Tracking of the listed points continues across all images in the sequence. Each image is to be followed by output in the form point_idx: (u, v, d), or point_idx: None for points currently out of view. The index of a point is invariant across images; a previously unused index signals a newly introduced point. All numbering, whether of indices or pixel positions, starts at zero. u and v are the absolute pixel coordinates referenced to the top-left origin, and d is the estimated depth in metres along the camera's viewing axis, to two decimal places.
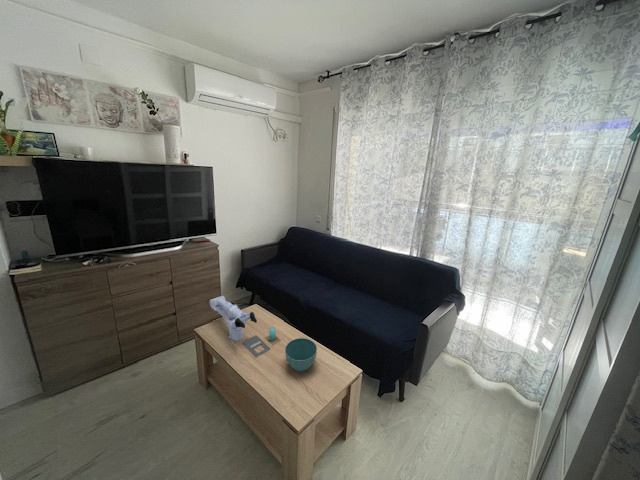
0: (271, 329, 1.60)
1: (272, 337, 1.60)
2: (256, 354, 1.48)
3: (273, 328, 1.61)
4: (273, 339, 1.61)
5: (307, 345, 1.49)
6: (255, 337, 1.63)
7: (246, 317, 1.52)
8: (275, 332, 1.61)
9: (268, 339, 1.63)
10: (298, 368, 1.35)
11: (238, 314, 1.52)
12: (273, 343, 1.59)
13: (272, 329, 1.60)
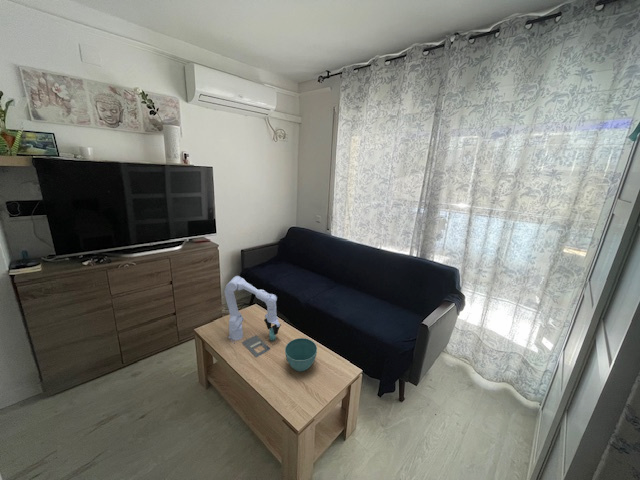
0: (271, 329, 1.60)
1: (272, 337, 1.60)
2: (256, 354, 1.48)
3: None
4: (273, 339, 1.61)
5: (307, 345, 1.49)
6: (255, 337, 1.63)
7: None
8: None
9: (268, 339, 1.63)
10: (298, 368, 1.35)
11: (276, 316, 1.58)
12: (273, 343, 1.59)
13: (272, 329, 1.60)
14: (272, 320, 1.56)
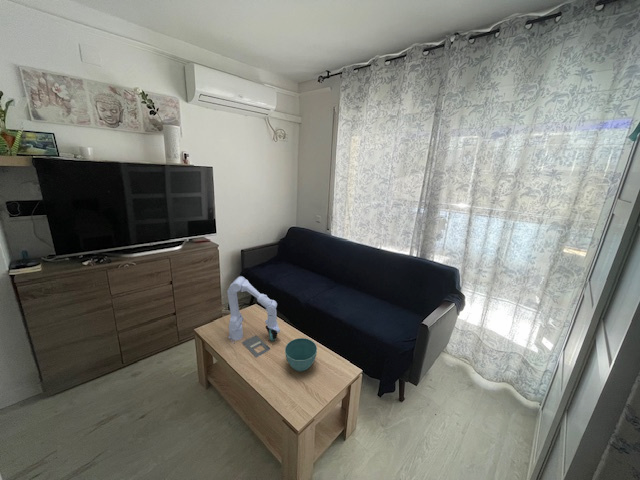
0: (271, 329, 1.60)
1: (272, 337, 1.60)
2: (256, 354, 1.48)
3: None
4: (273, 339, 1.61)
5: (307, 345, 1.49)
6: (255, 337, 1.63)
7: None
8: None
9: (268, 339, 1.63)
10: (298, 368, 1.35)
11: (276, 321, 1.60)
12: (273, 343, 1.59)
13: (272, 329, 1.60)
14: (272, 326, 1.57)
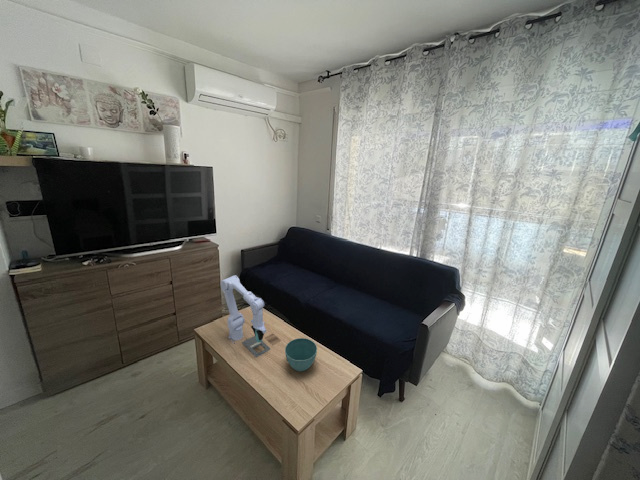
0: (257, 329, 1.49)
1: (258, 338, 1.49)
2: (256, 354, 1.48)
3: None
4: (259, 340, 1.50)
5: (307, 345, 1.49)
6: (255, 337, 1.63)
7: None
8: None
9: (268, 339, 1.63)
10: (298, 368, 1.35)
11: (262, 321, 1.48)
12: (273, 343, 1.59)
13: None
14: (258, 326, 1.46)
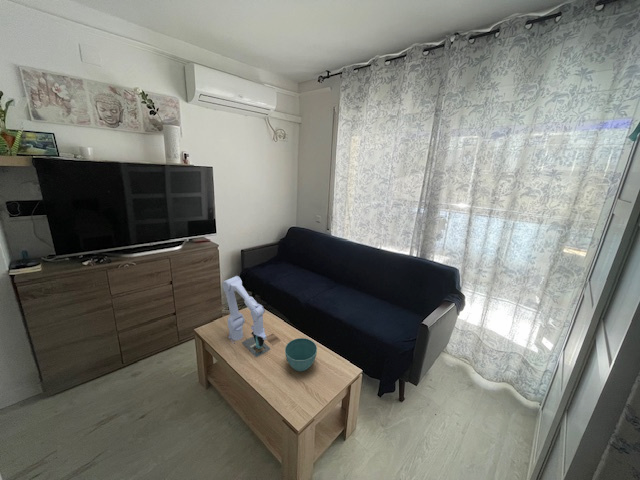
0: (257, 336, 1.50)
1: None
2: (256, 354, 1.48)
3: None
4: None
5: (307, 345, 1.49)
6: None
7: None
8: None
9: (268, 339, 1.63)
10: (298, 368, 1.35)
11: None
12: (273, 343, 1.59)
13: (258, 336, 1.50)
14: (258, 332, 1.47)
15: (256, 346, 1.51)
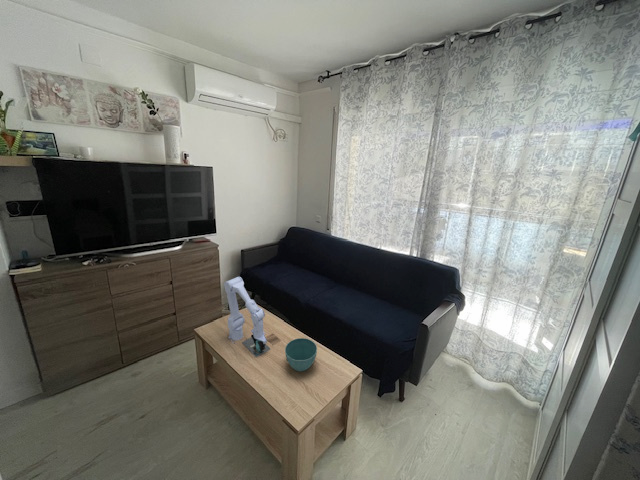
0: (258, 341, 1.51)
1: (259, 350, 1.51)
2: (256, 354, 1.48)
3: None
4: (260, 351, 1.52)
5: (307, 345, 1.49)
6: None
7: None
8: None
9: (268, 339, 1.63)
10: (298, 368, 1.35)
11: (263, 331, 1.50)
12: (273, 343, 1.59)
13: None
14: (258, 336, 1.48)
15: None
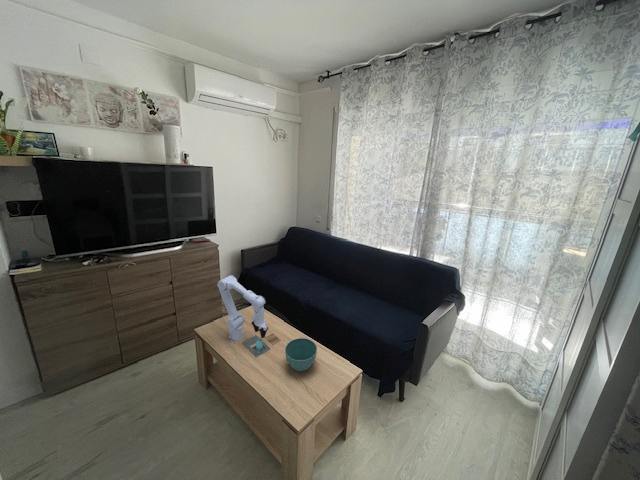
0: (258, 341, 1.51)
1: (259, 350, 1.51)
2: (256, 354, 1.48)
3: (260, 340, 1.52)
4: (260, 351, 1.52)
5: (307, 345, 1.49)
6: (255, 337, 1.63)
7: None
8: (262, 344, 1.52)
9: (268, 339, 1.63)
10: (298, 368, 1.35)
11: (263, 318, 1.53)
12: (273, 343, 1.59)
13: (259, 341, 1.51)
14: (259, 323, 1.50)
15: None
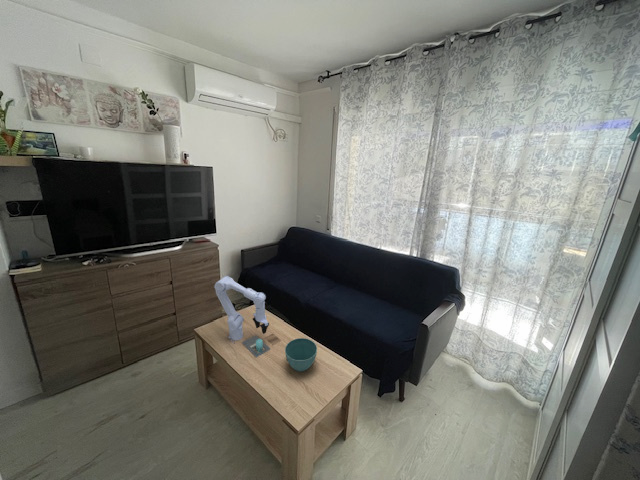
0: (258, 341, 1.51)
1: (259, 350, 1.51)
2: (256, 354, 1.48)
3: (260, 340, 1.52)
4: (260, 351, 1.52)
5: (307, 345, 1.49)
6: (255, 337, 1.63)
7: None
8: (262, 344, 1.52)
9: (268, 339, 1.63)
10: (298, 368, 1.35)
11: None
12: (273, 343, 1.59)
13: (259, 341, 1.51)
14: (260, 319, 1.54)
15: None
